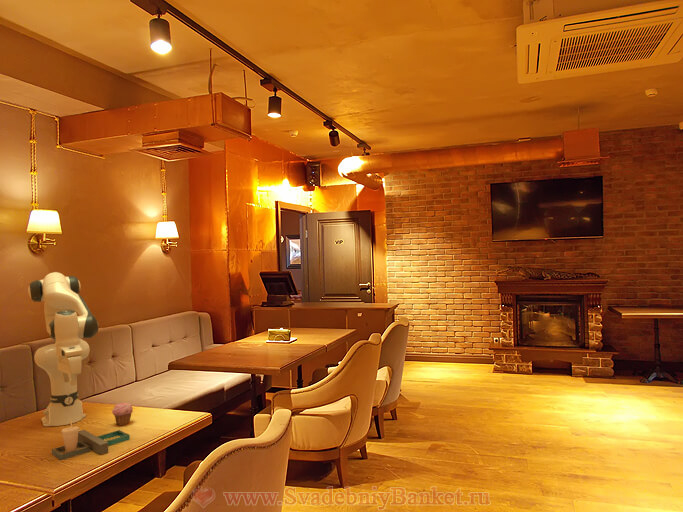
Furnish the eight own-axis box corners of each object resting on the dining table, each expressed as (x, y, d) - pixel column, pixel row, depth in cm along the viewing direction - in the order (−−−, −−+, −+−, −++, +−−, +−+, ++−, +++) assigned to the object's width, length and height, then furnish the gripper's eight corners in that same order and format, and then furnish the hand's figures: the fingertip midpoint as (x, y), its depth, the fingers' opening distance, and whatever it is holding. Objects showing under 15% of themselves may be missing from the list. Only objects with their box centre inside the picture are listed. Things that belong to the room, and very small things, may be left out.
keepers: (51, 453, 195) (51, 449, 195) (119, 434, 215) (119, 430, 215) (60, 460, 188) (60, 455, 188) (129, 439, 208) (129, 434, 208)
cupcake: (109, 425, 229) (108, 404, 229) (126, 419, 236) (125, 399, 236) (120, 428, 224) (119, 406, 224) (137, 422, 231) (136, 401, 231)
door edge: (76, 440, 209) (76, 431, 209) (84, 438, 211) (83, 429, 211) (100, 455, 192) (100, 444, 192) (108, 452, 194) (107, 442, 194)
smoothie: (72, 456, 192) (70, 420, 192) (58, 455, 193) (57, 420, 193) (83, 449, 198) (82, 415, 198) (70, 449, 199) (69, 415, 200)
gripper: (52, 349, 203) (54, 382, 202) (66, 353, 188) (68, 388, 188) (69, 346, 207) (70, 379, 207) (83, 350, 193) (85, 385, 192)
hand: (69, 383), depth 197 cm, fingers open, 8 cm apart
